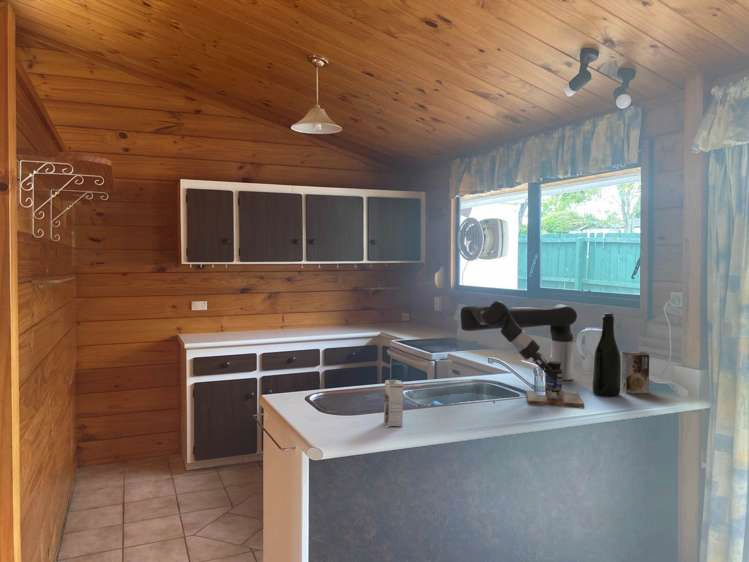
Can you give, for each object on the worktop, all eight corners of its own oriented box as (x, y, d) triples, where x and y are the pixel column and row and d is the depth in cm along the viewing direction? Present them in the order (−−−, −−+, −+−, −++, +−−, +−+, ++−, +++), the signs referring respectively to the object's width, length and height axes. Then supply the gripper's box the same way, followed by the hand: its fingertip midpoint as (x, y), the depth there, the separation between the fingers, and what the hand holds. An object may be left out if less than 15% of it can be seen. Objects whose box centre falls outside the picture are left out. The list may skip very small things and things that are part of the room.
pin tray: (528, 404, 223) (528, 391, 222) (526, 394, 238) (526, 381, 238) (584, 407, 219) (584, 394, 218) (578, 397, 234) (578, 384, 234)
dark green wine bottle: (623, 393, 240) (625, 312, 238) (616, 398, 232) (619, 315, 230) (596, 389, 246) (598, 311, 244) (589, 394, 238) (591, 313, 236)
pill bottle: (559, 393, 224) (560, 364, 223) (543, 391, 227) (544, 362, 227) (563, 390, 229) (564, 362, 229) (547, 388, 232) (548, 360, 232)
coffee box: (643, 390, 246) (644, 351, 245) (648, 393, 240) (650, 354, 239) (620, 389, 247) (621, 351, 246) (625, 393, 241) (626, 354, 240)
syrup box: (383, 422, 199) (383, 379, 198) (401, 422, 199) (401, 379, 198) (385, 427, 193) (385, 383, 192) (403, 427, 194) (403, 383, 193)
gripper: (516, 348, 237) (546, 379, 236) (518, 354, 223) (549, 387, 221) (530, 335, 236) (560, 366, 234) (533, 341, 222) (564, 374, 220)
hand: (555, 376), depth 228 cm, fingers closed on pill bottle, 6 cm apart
